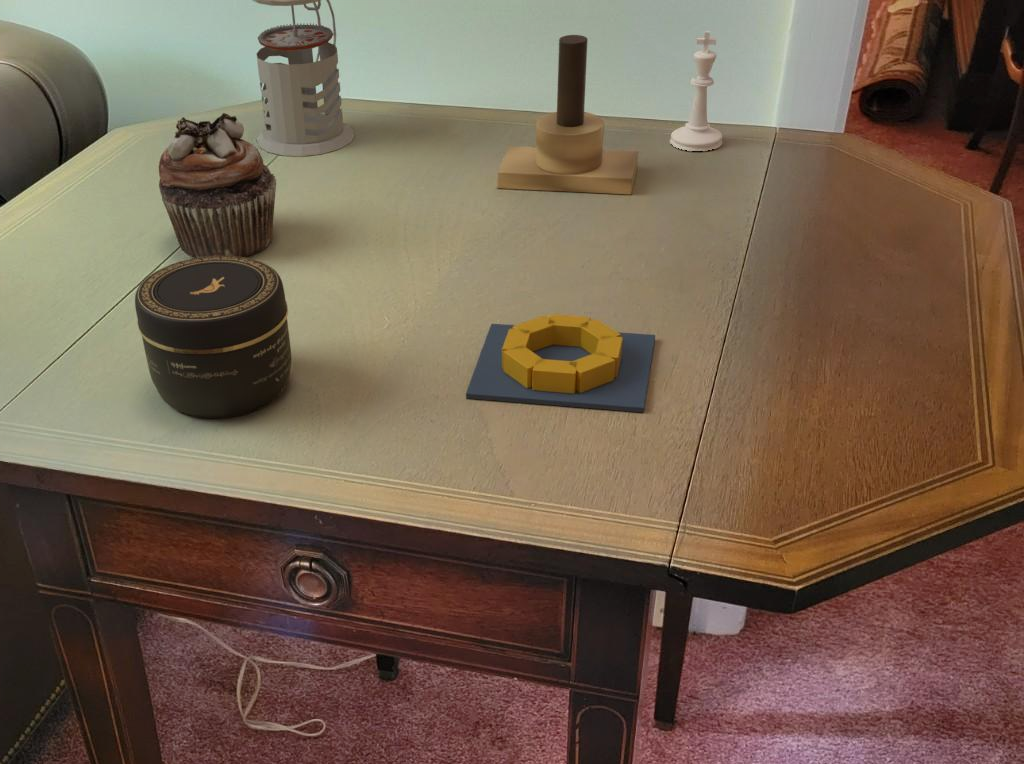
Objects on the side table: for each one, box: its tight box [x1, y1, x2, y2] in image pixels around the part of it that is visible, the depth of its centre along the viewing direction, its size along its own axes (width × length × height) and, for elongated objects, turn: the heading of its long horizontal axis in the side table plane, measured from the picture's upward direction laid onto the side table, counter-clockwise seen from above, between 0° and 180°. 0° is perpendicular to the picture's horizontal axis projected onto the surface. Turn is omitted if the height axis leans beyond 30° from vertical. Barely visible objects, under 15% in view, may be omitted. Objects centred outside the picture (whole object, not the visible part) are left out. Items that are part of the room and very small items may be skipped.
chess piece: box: [669, 30, 723, 152], centre depth 113 cm, size 5×5×10 cm
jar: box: [134, 256, 292, 419], centre depth 83 cm, size 10×10×8 cm
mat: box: [465, 323, 656, 413], centre depth 85 cm, size 12×10×1 cm
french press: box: [252, 0, 356, 157], centre depth 114 cm, size 10×12×25 cm
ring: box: [502, 313, 623, 394], centre depth 85 cm, size 8×8×2 cm
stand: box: [496, 34, 639, 195], centre depth 107 cm, size 12×6×12 cm, turn 78°
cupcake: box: [158, 112, 277, 258], centre depth 100 cm, size 10×10×10 cm
